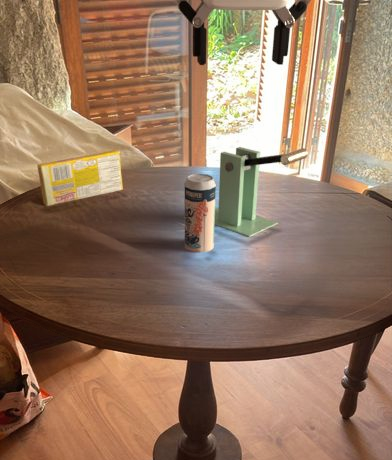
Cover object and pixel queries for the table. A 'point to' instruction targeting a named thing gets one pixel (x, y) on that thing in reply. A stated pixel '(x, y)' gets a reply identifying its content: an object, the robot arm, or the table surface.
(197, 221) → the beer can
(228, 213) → the bracket
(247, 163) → the lever
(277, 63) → the robot arm
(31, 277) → the table surface
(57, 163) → the candy box
